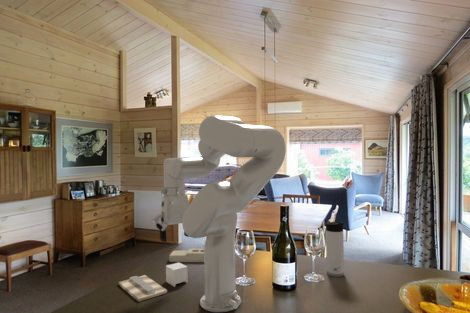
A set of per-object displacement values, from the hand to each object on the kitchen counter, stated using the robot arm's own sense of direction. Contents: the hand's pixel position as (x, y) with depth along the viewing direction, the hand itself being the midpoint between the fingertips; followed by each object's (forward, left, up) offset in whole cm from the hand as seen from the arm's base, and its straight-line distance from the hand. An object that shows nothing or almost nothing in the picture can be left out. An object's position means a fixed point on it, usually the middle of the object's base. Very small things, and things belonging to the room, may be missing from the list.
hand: (175, 238), depth 119 cm
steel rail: (+3, +12, -16) cm, 20 cm away
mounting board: (+3, +12, -16) cm, 20 cm away
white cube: (0, 0, -16) cm, 16 cm away
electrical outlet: (+18, -18, -17) cm, 30 cm away
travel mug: (-34, -49, -16) cm, 62 cm away
